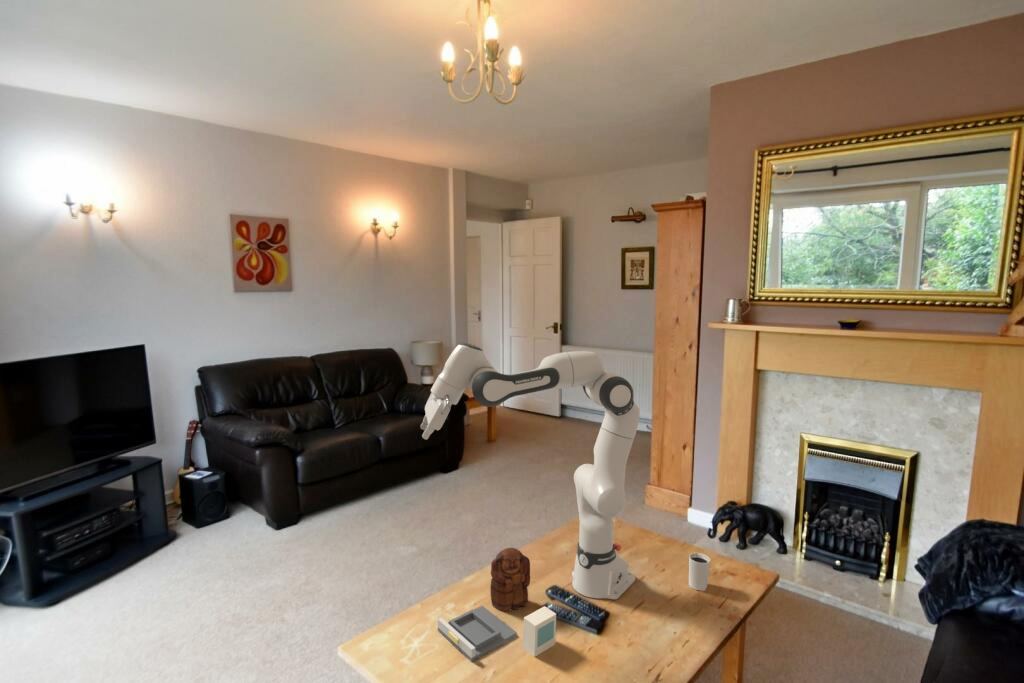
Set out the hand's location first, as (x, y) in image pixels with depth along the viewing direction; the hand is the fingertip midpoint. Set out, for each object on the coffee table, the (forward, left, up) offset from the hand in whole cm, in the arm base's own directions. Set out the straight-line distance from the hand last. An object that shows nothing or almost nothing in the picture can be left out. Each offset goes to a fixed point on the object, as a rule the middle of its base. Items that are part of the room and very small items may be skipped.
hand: (423, 433), depth 155 cm
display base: (-5, +21, -54) cm, 58 cm away
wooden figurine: (-21, +17, -55) cm, 61 cm away
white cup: (-76, +49, -55) cm, 106 cm away
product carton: (-15, +36, -54) cm, 67 cm away
